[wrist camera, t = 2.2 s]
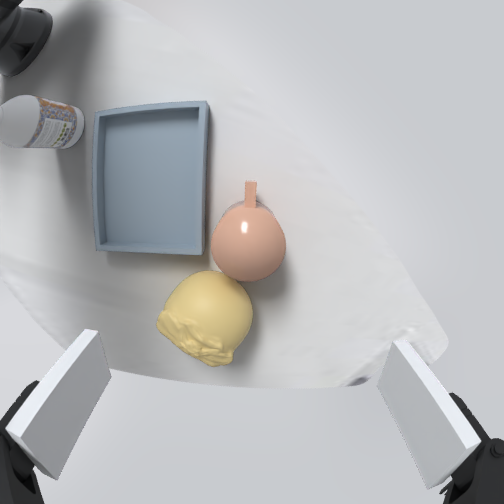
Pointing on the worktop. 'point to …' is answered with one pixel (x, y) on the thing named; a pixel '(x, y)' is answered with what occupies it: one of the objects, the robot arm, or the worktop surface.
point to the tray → (150, 178)
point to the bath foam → (39, 123)
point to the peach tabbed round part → (248, 239)
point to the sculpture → (207, 317)
